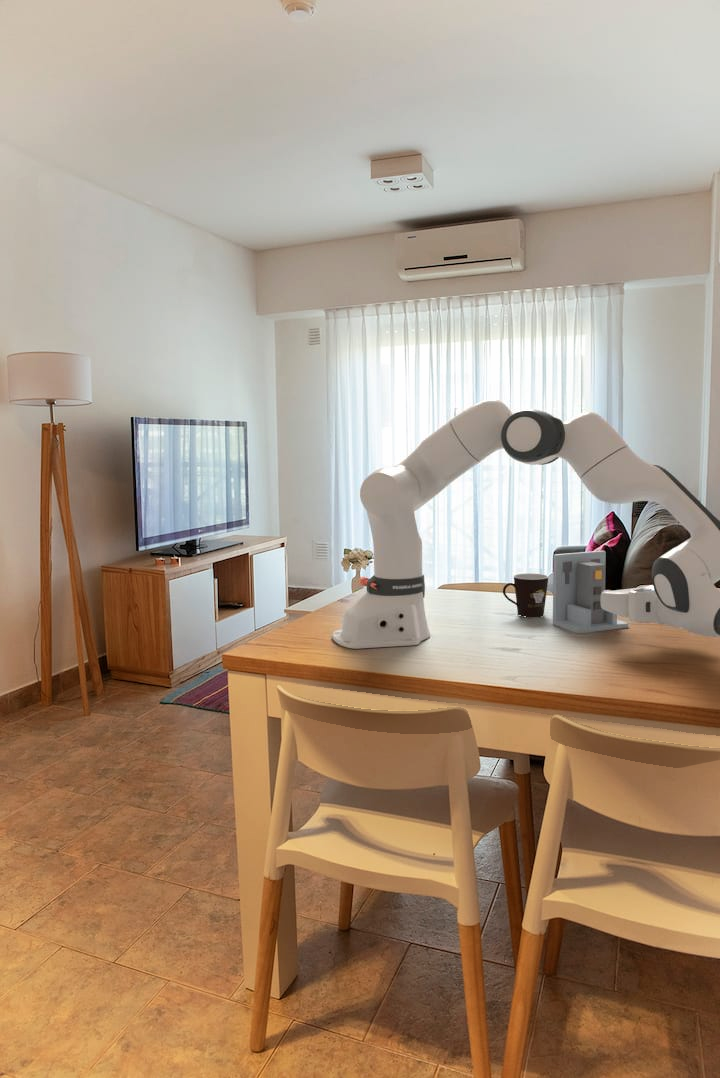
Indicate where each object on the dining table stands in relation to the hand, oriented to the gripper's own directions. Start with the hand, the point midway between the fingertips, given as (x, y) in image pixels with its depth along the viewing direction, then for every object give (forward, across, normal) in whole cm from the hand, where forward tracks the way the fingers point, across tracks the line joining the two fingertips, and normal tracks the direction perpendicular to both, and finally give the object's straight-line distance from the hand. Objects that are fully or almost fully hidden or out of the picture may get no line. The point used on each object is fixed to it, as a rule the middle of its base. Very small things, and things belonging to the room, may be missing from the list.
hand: (622, 591), depth 166 cm
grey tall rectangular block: (+11, 0, +9) cm, 14 cm away
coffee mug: (+27, +8, +10) cm, 30 cm away
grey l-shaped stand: (+11, 0, +10) cm, 15 cm away
